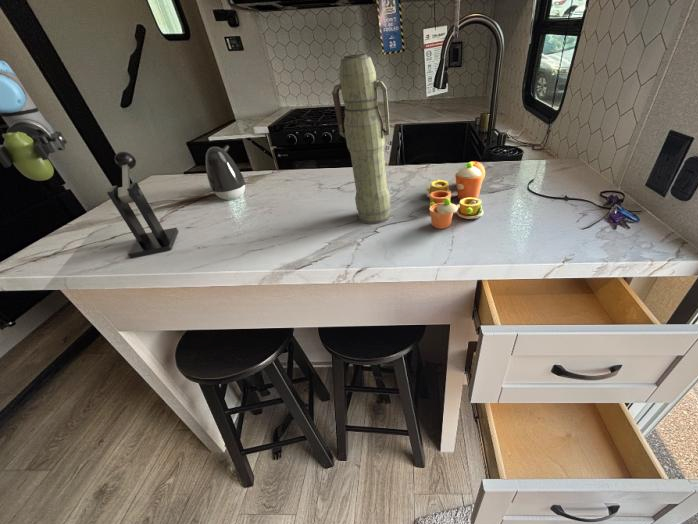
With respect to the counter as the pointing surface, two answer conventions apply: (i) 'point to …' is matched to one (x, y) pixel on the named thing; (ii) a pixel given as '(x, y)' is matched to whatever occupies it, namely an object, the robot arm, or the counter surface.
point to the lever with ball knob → (125, 174)
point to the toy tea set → (466, 191)
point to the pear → (27, 157)
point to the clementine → (478, 167)
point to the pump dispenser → (224, 174)
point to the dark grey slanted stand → (144, 241)
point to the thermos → (364, 135)
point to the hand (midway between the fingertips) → (21, 156)
